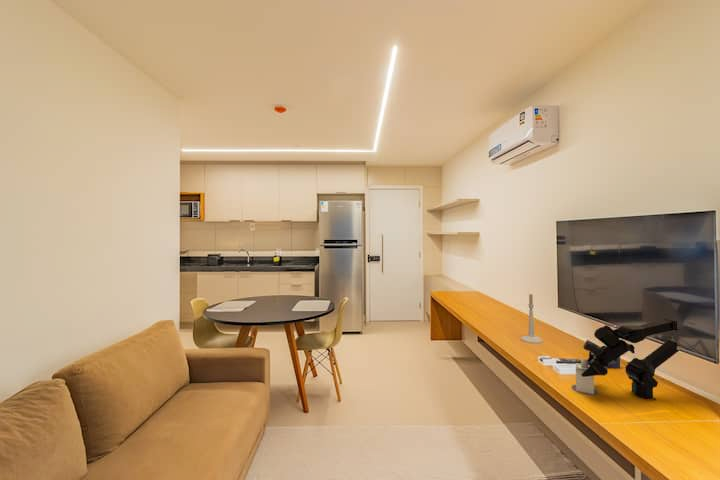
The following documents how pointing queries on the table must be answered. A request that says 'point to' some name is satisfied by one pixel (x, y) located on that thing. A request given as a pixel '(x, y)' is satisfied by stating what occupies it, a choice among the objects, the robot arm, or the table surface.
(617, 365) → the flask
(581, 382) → the rubber stamp
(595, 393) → the gray disc
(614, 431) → the table surface
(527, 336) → the candlestick
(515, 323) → the table surface
